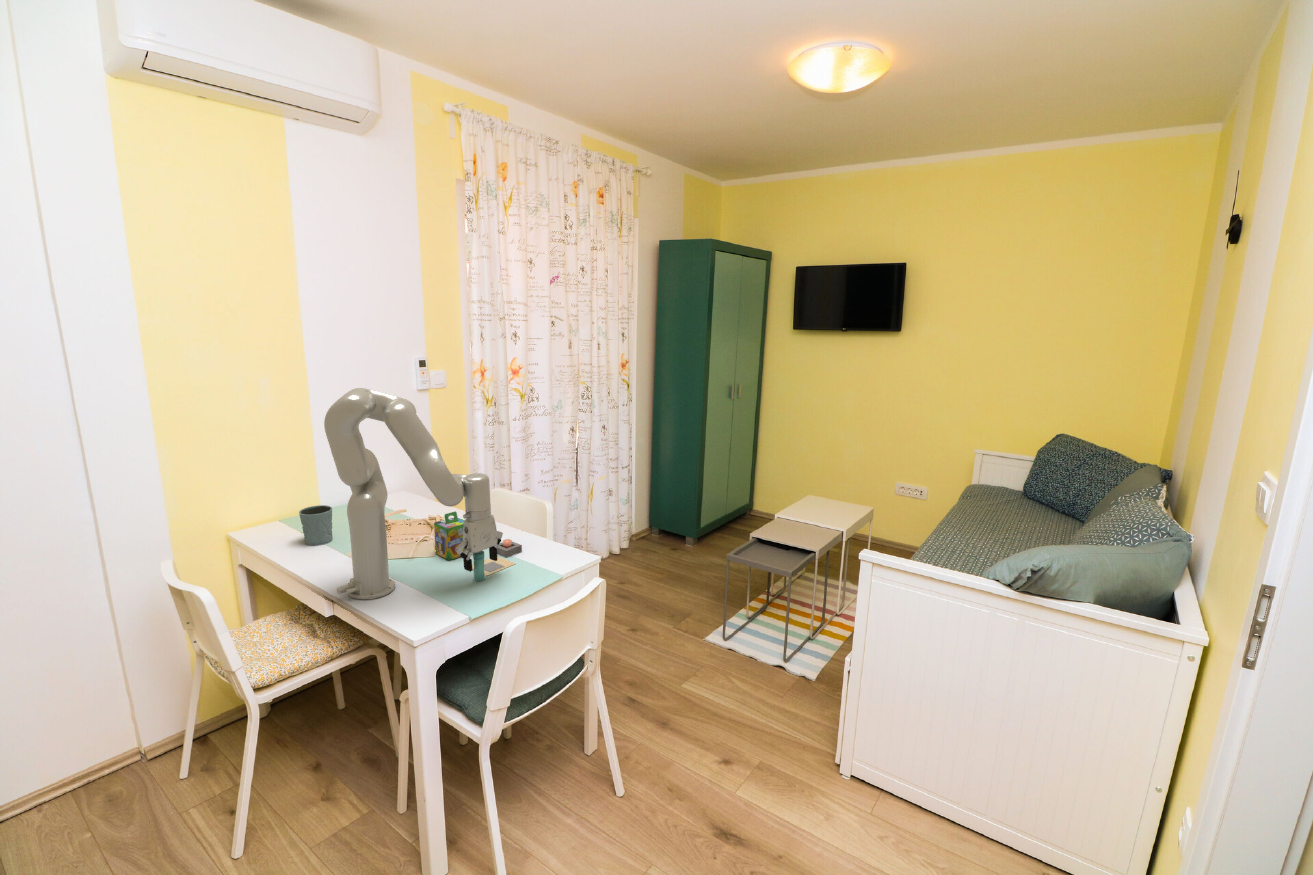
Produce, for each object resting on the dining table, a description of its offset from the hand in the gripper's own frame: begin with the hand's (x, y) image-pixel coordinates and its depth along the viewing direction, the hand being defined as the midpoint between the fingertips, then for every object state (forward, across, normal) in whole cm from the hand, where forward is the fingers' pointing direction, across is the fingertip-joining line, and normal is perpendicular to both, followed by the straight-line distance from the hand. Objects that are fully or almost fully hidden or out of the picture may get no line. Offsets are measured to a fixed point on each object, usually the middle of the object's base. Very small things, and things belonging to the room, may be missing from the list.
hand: (481, 564), depth 185 cm
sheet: (+5, +8, +6) cm, 11 cm away
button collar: (+5, +19, +10) cm, 23 cm away
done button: (+3, +19, +10) cm, 22 cm away
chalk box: (+5, +6, +24) cm, 25 cm away
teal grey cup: (+4, -18, +68) cm, 71 cm away
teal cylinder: (+5, -1, 0) cm, 5 cm away
